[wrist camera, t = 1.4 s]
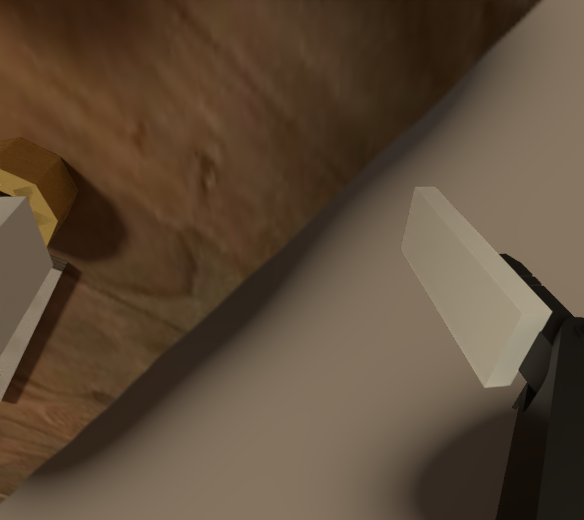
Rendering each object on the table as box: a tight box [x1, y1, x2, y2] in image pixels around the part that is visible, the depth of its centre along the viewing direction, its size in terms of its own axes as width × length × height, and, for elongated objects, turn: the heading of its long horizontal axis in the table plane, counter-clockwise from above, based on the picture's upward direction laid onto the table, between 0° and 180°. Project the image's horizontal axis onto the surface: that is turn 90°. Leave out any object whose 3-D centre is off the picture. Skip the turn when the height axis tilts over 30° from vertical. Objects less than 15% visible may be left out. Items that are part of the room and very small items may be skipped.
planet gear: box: [0, 137, 79, 247], centre depth 30 cm, size 7×7×5 cm
